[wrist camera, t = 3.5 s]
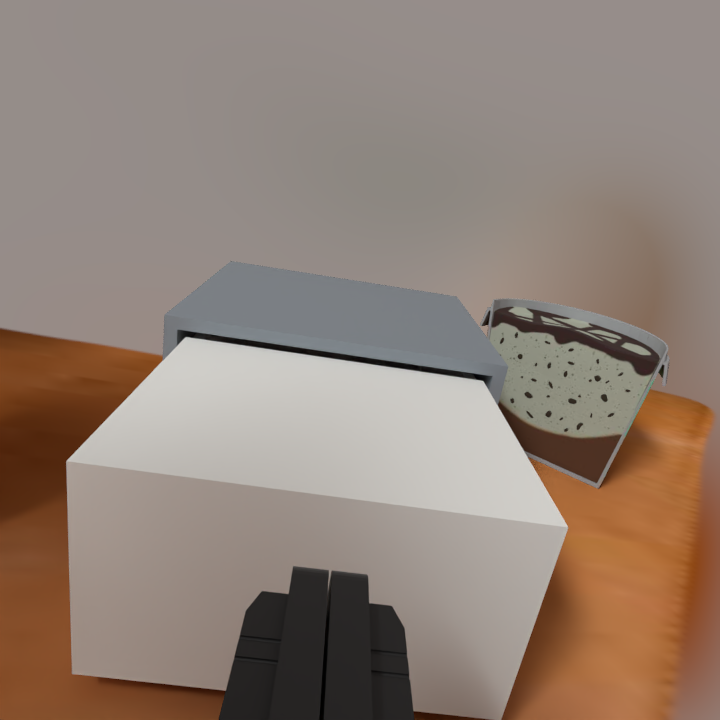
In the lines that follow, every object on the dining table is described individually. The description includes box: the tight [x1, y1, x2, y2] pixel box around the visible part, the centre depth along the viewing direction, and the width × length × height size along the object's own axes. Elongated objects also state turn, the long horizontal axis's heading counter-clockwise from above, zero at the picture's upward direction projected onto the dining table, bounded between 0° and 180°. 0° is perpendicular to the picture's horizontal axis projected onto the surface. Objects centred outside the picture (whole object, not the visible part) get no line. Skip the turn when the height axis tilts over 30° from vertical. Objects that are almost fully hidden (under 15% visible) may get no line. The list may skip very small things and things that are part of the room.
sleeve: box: [163, 261, 508, 405], centre depth 33 cm, size 14×16×10 cm
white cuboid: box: [66, 332, 568, 720], centre depth 28 cm, size 25×14×8 cm, turn 1°
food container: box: [480, 299, 669, 489], centre depth 39 cm, size 12×6×10 cm, turn 51°
